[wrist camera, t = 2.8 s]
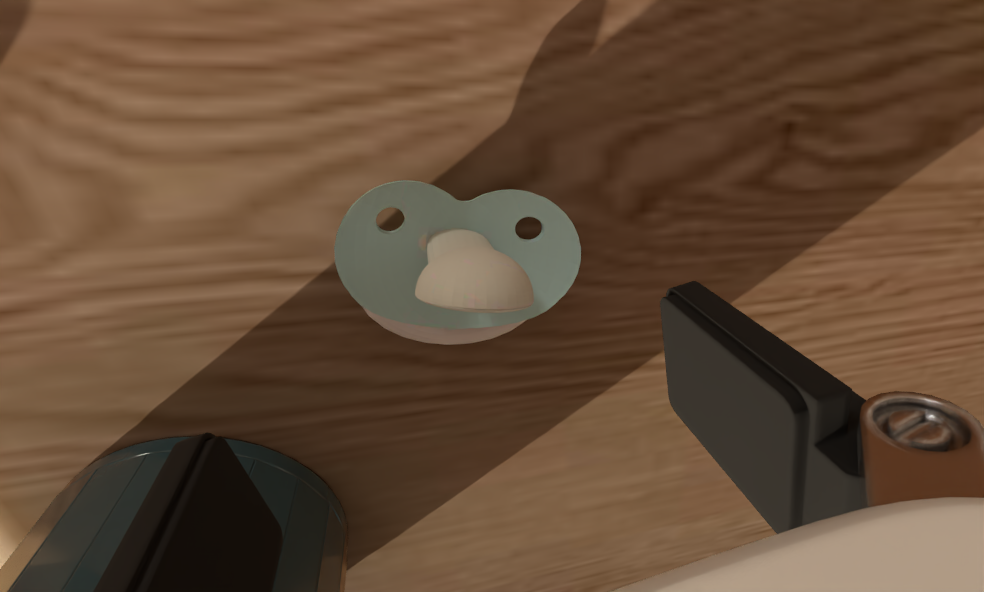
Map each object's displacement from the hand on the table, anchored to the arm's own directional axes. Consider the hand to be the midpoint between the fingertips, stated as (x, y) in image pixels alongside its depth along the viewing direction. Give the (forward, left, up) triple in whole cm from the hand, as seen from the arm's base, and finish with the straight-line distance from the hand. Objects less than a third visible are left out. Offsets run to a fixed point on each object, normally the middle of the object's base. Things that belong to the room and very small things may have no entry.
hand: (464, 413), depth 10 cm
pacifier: (-1, 0, -8) cm, 8 cm away
